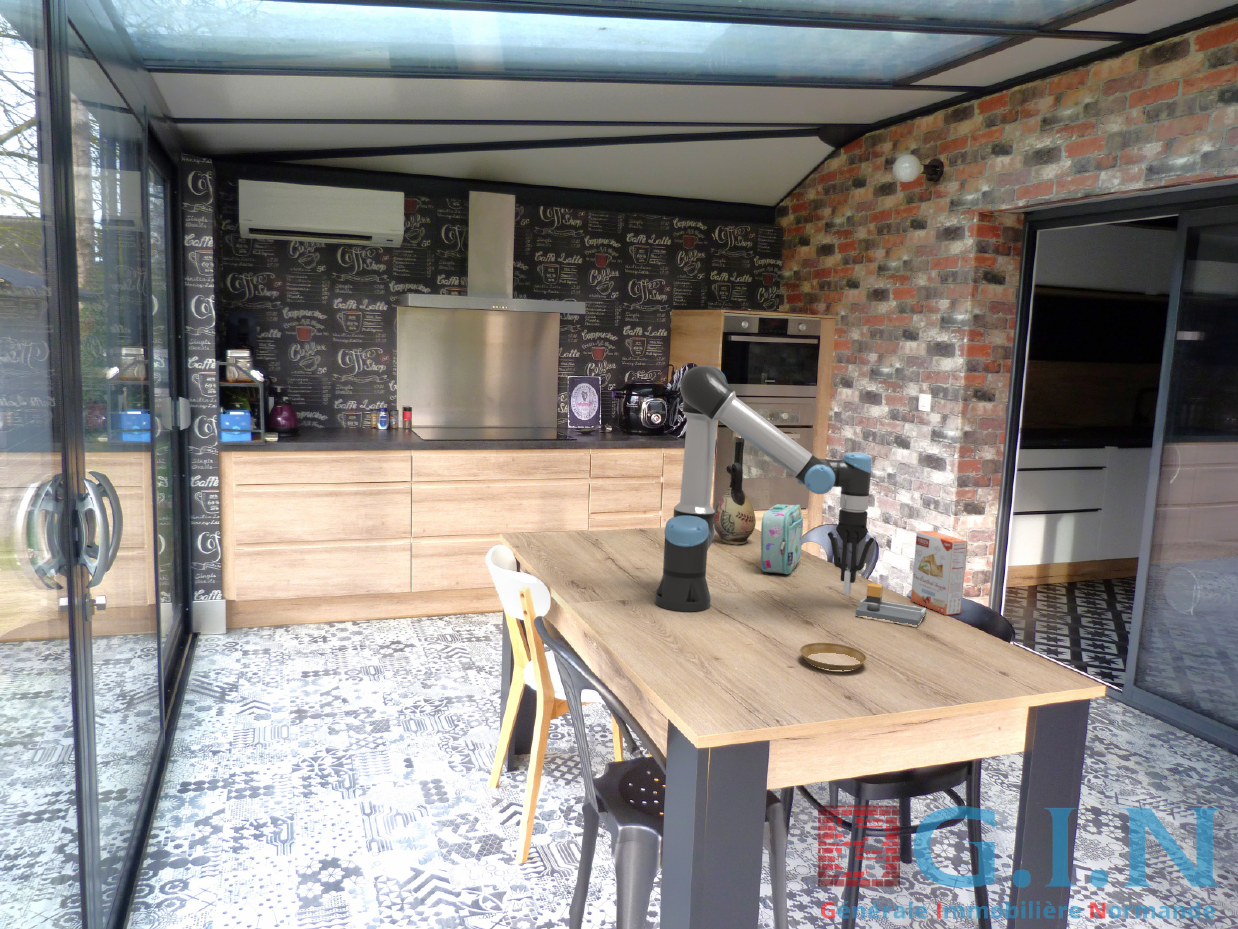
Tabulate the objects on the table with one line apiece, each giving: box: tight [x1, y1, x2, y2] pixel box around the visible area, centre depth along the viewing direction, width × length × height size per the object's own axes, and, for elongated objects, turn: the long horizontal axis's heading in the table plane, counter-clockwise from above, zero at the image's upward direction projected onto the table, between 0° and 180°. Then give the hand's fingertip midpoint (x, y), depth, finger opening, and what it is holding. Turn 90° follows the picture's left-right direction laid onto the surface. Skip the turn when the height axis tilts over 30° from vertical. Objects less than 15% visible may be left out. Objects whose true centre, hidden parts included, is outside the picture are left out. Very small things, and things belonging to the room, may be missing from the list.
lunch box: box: [760, 503, 804, 575], centre depth 286 cm, size 27×10×21 cm, turn 160°
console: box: [855, 597, 928, 627], centre depth 238 cm, size 14×17×4 cm
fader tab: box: [866, 582, 884, 605], centre depth 241 cm, size 3×4×5 cm
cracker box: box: [910, 530, 968, 616], centre depth 247 cm, size 14×6×21 cm, turn 23°
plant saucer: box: [799, 642, 868, 671], centre depth 199 cm, size 15×15×3 cm
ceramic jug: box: [714, 462, 756, 546], centre depth 321 cm, size 17×15×30 cm
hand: (846, 593), depth 245 cm, fingers closed
